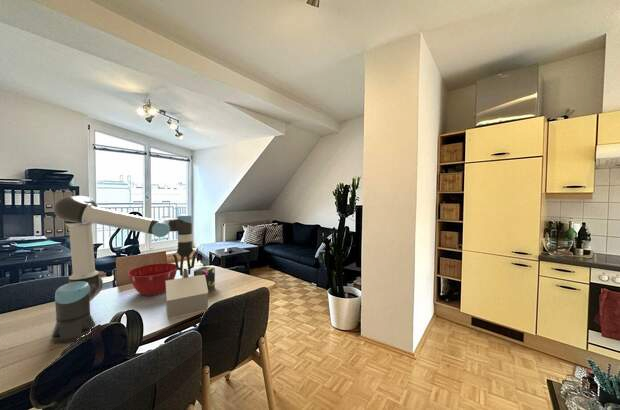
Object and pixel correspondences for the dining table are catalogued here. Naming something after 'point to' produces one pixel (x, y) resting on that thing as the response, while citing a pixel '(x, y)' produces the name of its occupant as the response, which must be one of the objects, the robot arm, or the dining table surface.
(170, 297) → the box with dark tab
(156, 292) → the mixing bowl
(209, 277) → the tampon box
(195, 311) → the open cabinet
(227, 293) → the dining table surface
